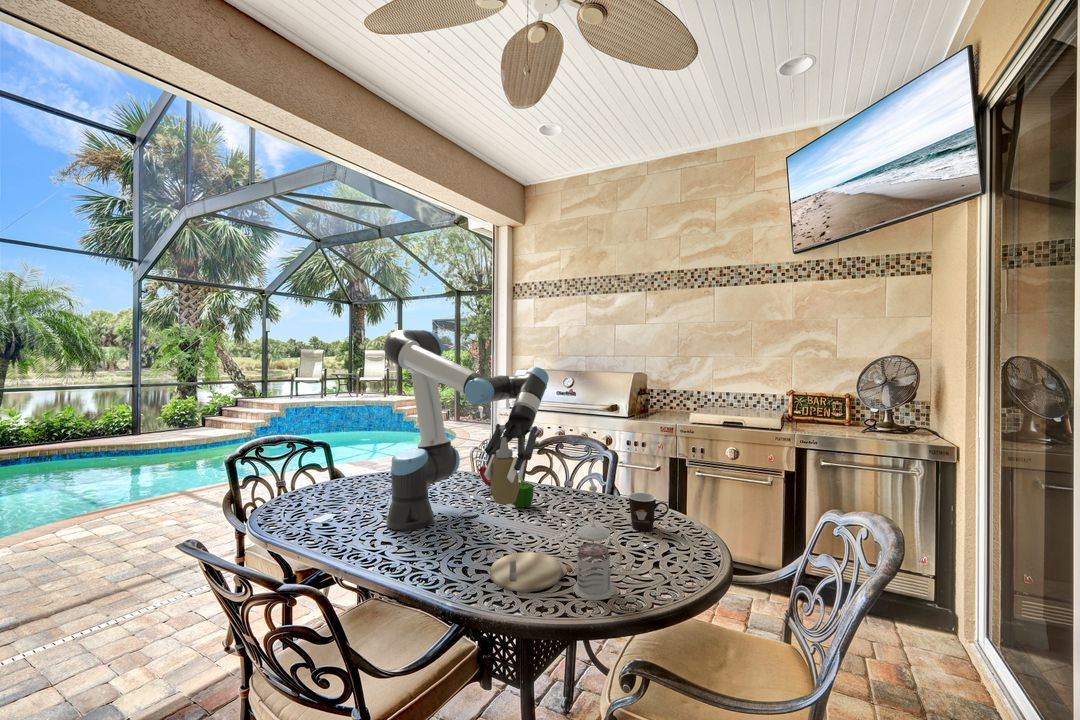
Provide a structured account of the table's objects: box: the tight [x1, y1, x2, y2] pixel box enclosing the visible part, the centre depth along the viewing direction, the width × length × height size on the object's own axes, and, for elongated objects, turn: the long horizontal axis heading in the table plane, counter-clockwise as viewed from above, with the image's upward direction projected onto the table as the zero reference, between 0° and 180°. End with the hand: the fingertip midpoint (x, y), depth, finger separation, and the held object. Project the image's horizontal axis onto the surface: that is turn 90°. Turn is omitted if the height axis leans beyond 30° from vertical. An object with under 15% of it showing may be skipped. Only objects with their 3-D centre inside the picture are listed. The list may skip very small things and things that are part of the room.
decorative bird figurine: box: [477, 465, 491, 492], centre depth 189 cm, size 3×18×10 cm, turn 75°
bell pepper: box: [512, 477, 534, 509], centre depth 172 cm, size 8×8×10 cm
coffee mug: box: [628, 492, 669, 533], centre depth 149 cm, size 12×9×10 cm
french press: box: [572, 484, 623, 601], centre depth 112 cm, size 10×12×25 cm
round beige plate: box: [490, 551, 563, 593], centre depth 121 cm, size 18×18×6 cm
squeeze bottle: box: [490, 436, 520, 505], centre depth 132 cm, size 8×8×18 cm
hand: (498, 478), depth 128 cm, fingers closed on squeeze bottle, 6 cm apart
